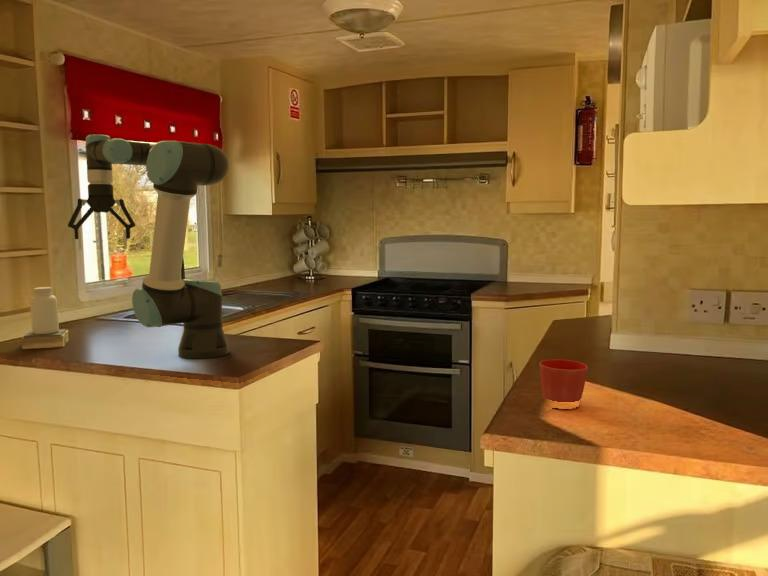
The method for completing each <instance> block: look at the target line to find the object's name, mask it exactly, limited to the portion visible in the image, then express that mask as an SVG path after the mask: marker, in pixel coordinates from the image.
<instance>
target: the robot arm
mask: <svg viewBox="0 0 768 576" xmlns="http://www.w3.org/2000/svg"><path fill="white" fill-rule="evenodd" d="M85 158H86V175H87V176H86V177H87V183H89V184H88V185H87V195H88V196H87V199H84V198H78V199H77V203H76V204H77V205H76V207H75V208H74V209H75V210H74V211H73V214H72V216H71V218H70V219H69V220H68V221H69V222H68V224H67V227H68V228H71V229H73V230H74V231H73V232H74V239H75V240H78V250H79V251H81V250H83V232H82V231H83V230H82V229H80V227H81V226H82V225H83V224H84V223H85V222H86V221H87V220H88V218H89V217H90V216H91V215H92V214H93V213H98V214H99V213H109V212H110V214H111V215H113V216H114V218H116V220H117V221H119V222H120V224H121V225H122V226H123V227H124V228H123V229H122V231H123V234H122V235H123V249H124V250H128V240H129V239H131V229H132V228H134V227H136V223H135V221H134V220H133V217H132V216H131V214H130V212H129V210H128V209H127V207H126V205H125V200H124V198H120V199H115V198H114V185H113V184H112V183H113V181H114V180H113V179H114V178H113V165H125V166H126V165H127V166H128V165H129V166H130V165H131V166H145V169H146V170H145V171H146V172H147V173H146V176H147V178H148V180H149V182H150V183H153V185H152V186H153V187H152V188H153V190H154V191H155V192H156V193H157V201H156V209H155V210H156V211H155V218H154V220H155V221H154V230H153V235H152V237H153V238H152V245H151V255H150V264H149V273H148V274H147V275H146V276H144V277H143V279H142V286H141V287H138V288H135V290H134V291H133V292H132V297H131V300H132V303H131V304H132V308H133V312H134V314H135V318H136V319H137V321H138V322H139V323H140V324H141V325H142V326H143V327H146V328H161V327H166V326H173V325H180V324H183V331H182V335H181V338H180V341H179V345H178V352H177V353H178V356H179V357H181V358H183V359H184V358H185V359H195V360H196V359H197V360H198V359H210V358H211V359H212V358H219V357H222V356H226V355H228V354H229V352H230V349H229V343H228V340H227V337H226V334H225V332H224V329H223V302H222V301H223V300H222V298H223V293H222V286H221V284H220V283H219V282H217V281H213V280H201V279H187V278H184V279H182V278H181V273H182V266H183V258H184V252H185V251H184V250H185V244H186V243H185V242H186V235H187V228H188V227H187V226H188V222H189V221H188V220H189V214H190V213H189V211H190V203H191V200H192V198H194V197H195V196H196V195H197V193H198V187H199V186H213V185H216V184H218V183H220V182H222V181H223V180H224V179H225V178H226V177H227V175H228V173H229V170H230V161H229V159H228V156H227V154H226V153H225V152H224V150H222V148H219V147H218V146H216V145H212V144H209V143H198V142H187V141H181V140H180V141H178V140H161V141H158V142H148V141H146V142H145V141H134V140H125V139H123V138H114V137H113V138H111V137H110V135H108V134H107V135H106V134H88V135H87V136H86V137H85ZM86 204H87V205H88V206H89V209H88V210H87V211H86V213H84V215H82V217H81V218H80V219H79V220H78V221H77V222H76V220H77V219H78V216H79V214H80V212H81V210H82V208H83V206H85V205H86ZM116 204H117V206H119V207H120V208H121V211H122V212H123V214H124V215H125V217H126V219H127V221H128V222H129V223H127V222H126V221H125V219H123V218H122V217H121V215H120V214H119V213H118V212H117V211H116V210H115V209H114V208H113V207H114V205H116ZM75 222H76V223H75ZM127 239H128V240H127Z"/></svg>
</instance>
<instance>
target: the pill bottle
mask: <svg viewBox="0 0 768 576" xmlns="http://www.w3.org/2000/svg"><path fill="white" fill-rule="evenodd" d="M33 295H34V296H32V297H30V300H29V305H30V306H29V307H30V317H31V319H30V320H31V331H32V332H33V334H51V333H56V332H58V331H59V329H60V322H59V310H58V309H59V308H58V307H59V306H58V299H57V296H55V295H53V289H52V287H51V286H40V287H35V288H33Z"/></svg>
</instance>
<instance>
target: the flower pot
mask: <svg viewBox="0 0 768 576" xmlns="http://www.w3.org/2000/svg"><path fill="white" fill-rule="evenodd" d="M538 365H539V375H540V383H541V392H542V395H543V397H544V398H546V399H549V400H552V401H557V402H575V401H579V400H580V399H581V400H582V397H583V394H584V389H585V384H586V380H587V376H588V371H589V367H588V365H587V364H586V363H584V362H580V361H577V360H569V359H561V358H560V359H559V358H558V359H555V358H554V359H545V360H541V361H540V362H539V364H538ZM544 398H543V399H544ZM569 410H570V411H572V410H573V411H574V410H575V409H568V410H567V411H569ZM560 411H565V410H564V409H560Z"/></svg>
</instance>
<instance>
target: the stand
mask: <svg viewBox="0 0 768 576" xmlns="http://www.w3.org/2000/svg"><path fill="white" fill-rule="evenodd" d="M69 332H70V331H69V329H67V328H59V331H58V332H56V333H51V334H33V332H32V330H29V332H27V333H26V334H25V335H23V336H22V337H21V350H29V349H44V348H45V349H48V348H49V349H50V348H62V347H65V345H66V344H67V343H68V341H69V340H70V339H69V338H70V337H69Z"/></svg>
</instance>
